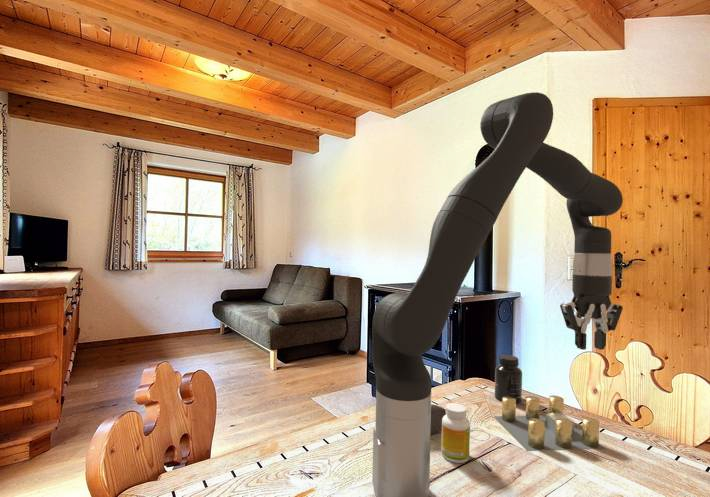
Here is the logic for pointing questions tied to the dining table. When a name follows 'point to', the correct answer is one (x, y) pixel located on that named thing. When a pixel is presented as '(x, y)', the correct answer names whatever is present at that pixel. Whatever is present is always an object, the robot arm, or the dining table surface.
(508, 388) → the supplement bottle
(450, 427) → the supplement bottle
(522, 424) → the mat
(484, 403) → the dining table surface
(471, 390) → the dining table surface
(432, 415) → the perforated stone tool
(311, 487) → the dining table surface
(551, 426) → the white faced textured brick
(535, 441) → the spacers
